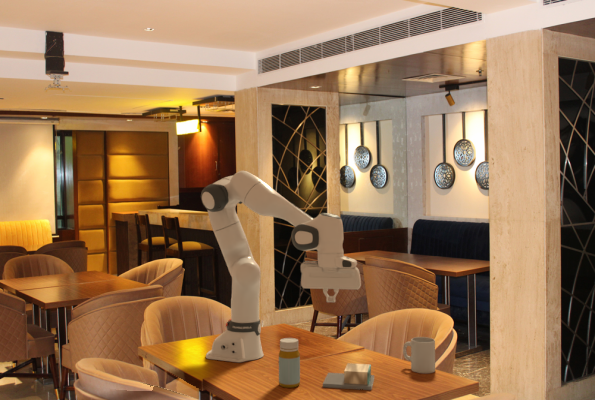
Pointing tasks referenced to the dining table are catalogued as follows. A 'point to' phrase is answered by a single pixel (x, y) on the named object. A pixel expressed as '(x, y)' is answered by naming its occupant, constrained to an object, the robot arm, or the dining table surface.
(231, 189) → the robot arm
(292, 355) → the bottle
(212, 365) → the dining table surface
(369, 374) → the block
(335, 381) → the board
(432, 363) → the mug
